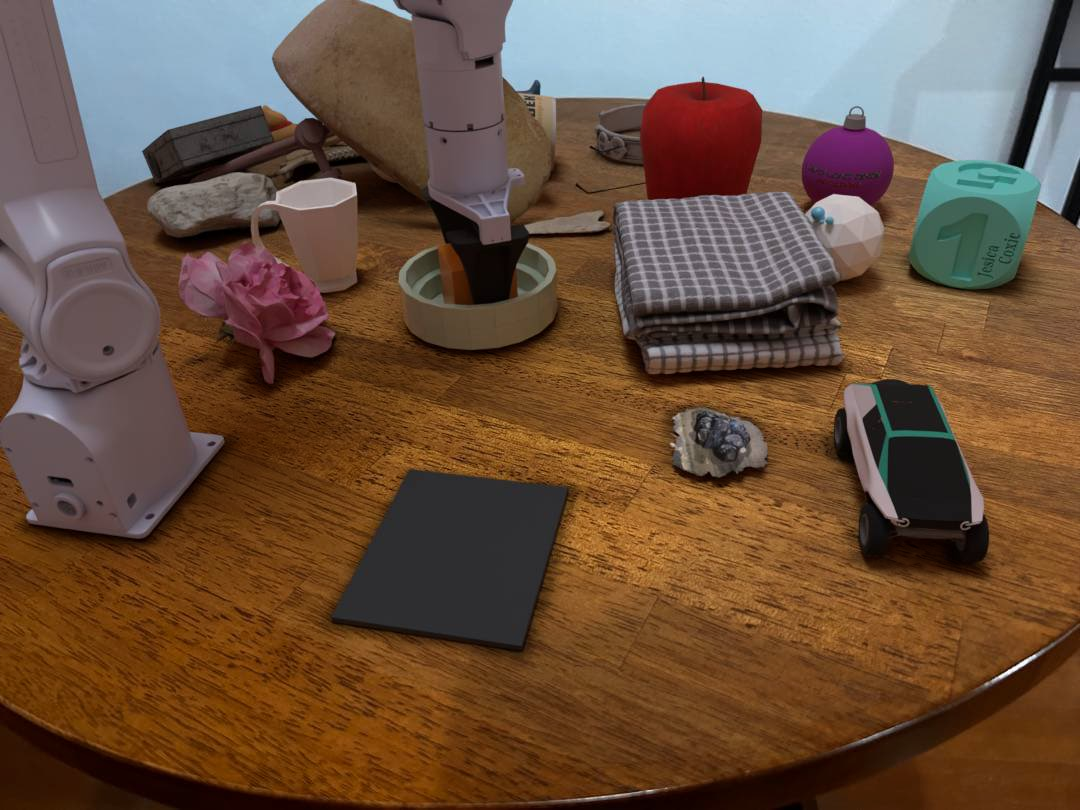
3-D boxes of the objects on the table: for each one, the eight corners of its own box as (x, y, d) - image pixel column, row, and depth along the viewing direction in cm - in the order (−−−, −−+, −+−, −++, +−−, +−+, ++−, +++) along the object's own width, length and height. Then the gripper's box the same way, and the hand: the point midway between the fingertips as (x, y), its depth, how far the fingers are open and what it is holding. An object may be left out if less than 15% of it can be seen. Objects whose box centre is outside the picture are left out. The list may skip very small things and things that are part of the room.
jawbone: (263, 169, 101) (259, 151, 100) (428, 139, 108) (426, 122, 107) (281, 187, 94) (277, 168, 93) (456, 154, 101) (454, 136, 100)
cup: (357, 302, 73) (341, 210, 68) (246, 296, 74) (223, 206, 70) (384, 264, 78) (371, 178, 74) (280, 260, 80) (260, 174, 75)
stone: (342, -50, 86) (348, -6, 92) (238, 48, 82) (251, 88, 87) (589, 125, 84) (579, 158, 89) (495, 235, 79) (491, 263, 85)
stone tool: (602, 213, 86) (502, 225, 85) (602, 205, 85) (501, 217, 84) (615, 233, 82) (510, 246, 81) (615, 225, 82) (510, 238, 80)
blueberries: (688, 495, 52) (690, 470, 50) (638, 419, 58) (639, 396, 57) (791, 471, 53) (795, 446, 52) (731, 400, 59) (733, 376, 58)
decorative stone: (209, 261, 80) (194, 209, 77) (136, 237, 85) (120, 187, 82) (307, 214, 88) (297, 166, 85) (236, 194, 93) (224, 148, 90)
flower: (345, 354, 72) (380, 284, 65) (259, 426, 66) (287, 357, 58) (241, 263, 72) (264, 181, 64) (145, 325, 66) (159, 243, 58)
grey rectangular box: (236, 162, 103) (152, 186, 98) (223, 128, 102) (137, 152, 97) (276, 142, 89) (181, 169, 85) (262, 103, 88) (164, 129, 84)
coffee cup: (556, 155, 89) (438, 152, 88) (550, 193, 98) (443, 190, 98) (556, 71, 91) (440, 67, 90) (550, 116, 100) (445, 113, 99)
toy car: (925, 435, 55) (945, 364, 52) (981, 574, 46) (1008, 497, 43) (829, 431, 56) (843, 361, 53) (864, 567, 46) (882, 491, 43)
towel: (780, 259, 76) (792, 172, 71) (846, 375, 61) (866, 273, 56) (605, 267, 76) (606, 180, 71) (628, 385, 61) (630, 284, 56)
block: (519, 318, 69) (516, 260, 66) (457, 330, 67) (451, 271, 65) (502, 290, 72) (498, 234, 70) (443, 301, 71) (437, 245, 68)
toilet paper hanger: (363, 105, 101) (398, 83, 89) (392, 175, 104) (430, 163, 91) (182, 172, 94) (193, 158, 81) (218, 245, 96) (234, 243, 84)
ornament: (881, 214, 74) (898, 179, 67) (870, 296, 74) (885, 270, 66) (798, 207, 76) (805, 172, 68) (787, 287, 75) (793, 260, 67)
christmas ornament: (891, 202, 86) (912, 98, 80) (875, 234, 80) (897, 124, 74) (807, 190, 89) (822, 89, 83) (786, 220, 83) (800, 114, 77)
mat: (522, 651, 43) (521, 646, 42) (331, 622, 45) (330, 616, 44) (568, 492, 52) (568, 487, 52) (410, 473, 54) (409, 468, 54)
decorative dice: (902, 279, 72) (923, 186, 68) (918, 241, 78) (938, 154, 74) (1008, 298, 69) (1038, 202, 65) (1016, 257, 75) (1044, 166, 70)
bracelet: (656, 174, 93) (657, 147, 92) (567, 146, 102) (567, 120, 100) (735, 142, 101) (738, 116, 99) (647, 118, 109) (648, 94, 108)
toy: (232, 147, 107) (223, 105, 104) (373, 142, 107) (368, 100, 104) (225, 155, 104) (215, 112, 101) (370, 150, 104) (364, 107, 101)
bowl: (538, 361, 64) (536, 314, 62) (382, 348, 67) (375, 302, 64) (570, 285, 74) (569, 241, 72) (432, 276, 76) (427, 233, 74)
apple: (630, 244, 80) (634, 91, 72) (646, 201, 88) (651, 59, 80) (749, 252, 77) (766, 95, 70) (754, 207, 85) (770, 62, 78)
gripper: (550, 142, 56) (556, 325, 64) (492, 85, 68) (503, 247, 76) (443, 158, 55) (463, 343, 63) (402, 97, 66) (423, 260, 74)
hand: (479, 292), depth 69 cm, fingers open, 7 cm apart
